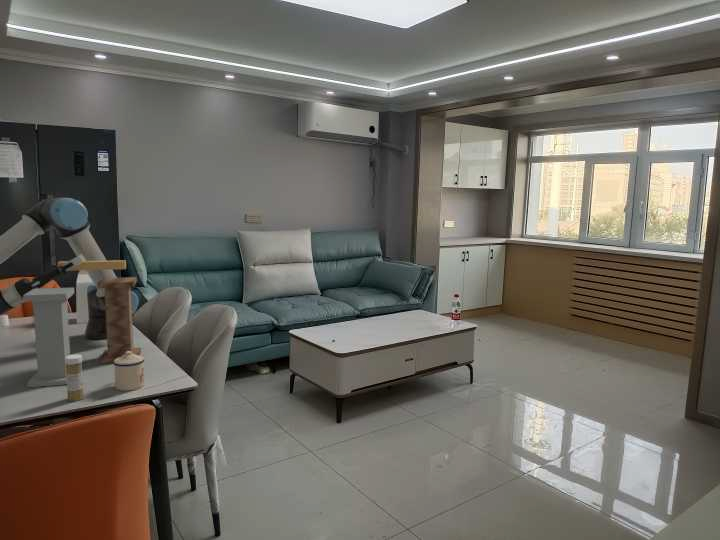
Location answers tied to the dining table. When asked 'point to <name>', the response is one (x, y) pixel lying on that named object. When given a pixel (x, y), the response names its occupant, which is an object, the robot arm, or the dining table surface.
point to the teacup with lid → (129, 372)
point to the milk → (82, 296)
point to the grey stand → (50, 334)
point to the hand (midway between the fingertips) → (82, 258)
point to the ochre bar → (98, 265)
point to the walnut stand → (118, 317)
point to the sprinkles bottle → (74, 377)
